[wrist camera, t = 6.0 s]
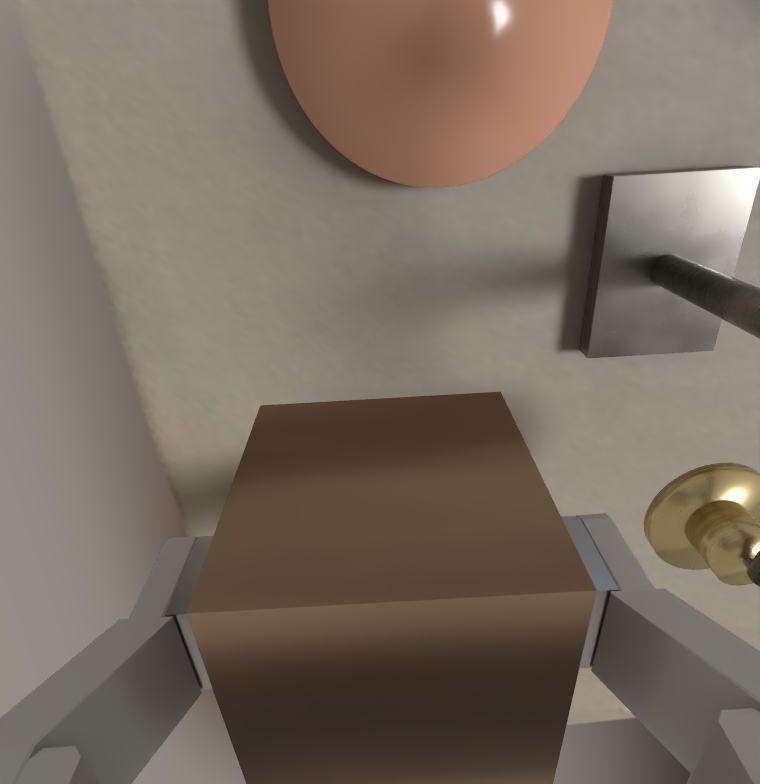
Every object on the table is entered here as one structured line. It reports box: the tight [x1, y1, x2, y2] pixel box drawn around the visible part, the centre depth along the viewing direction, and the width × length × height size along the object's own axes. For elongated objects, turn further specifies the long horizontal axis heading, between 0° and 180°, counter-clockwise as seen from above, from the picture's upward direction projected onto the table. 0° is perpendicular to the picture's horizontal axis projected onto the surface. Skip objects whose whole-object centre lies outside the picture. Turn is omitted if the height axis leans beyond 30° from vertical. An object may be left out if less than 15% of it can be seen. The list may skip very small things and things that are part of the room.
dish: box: [268, 0, 613, 187], centre depth 18 cm, size 12×12×1 cm
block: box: [186, 392, 597, 784], centre depth 9 cm, size 4×4×4 cm
